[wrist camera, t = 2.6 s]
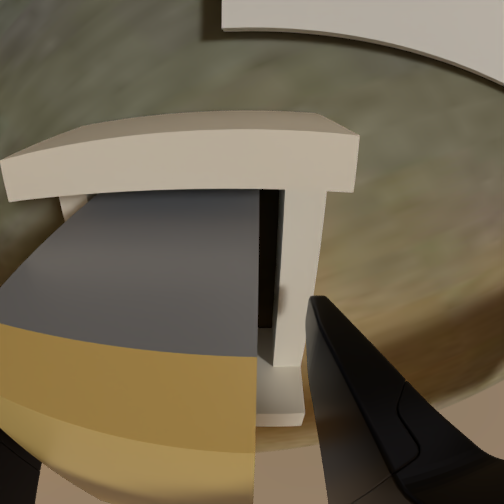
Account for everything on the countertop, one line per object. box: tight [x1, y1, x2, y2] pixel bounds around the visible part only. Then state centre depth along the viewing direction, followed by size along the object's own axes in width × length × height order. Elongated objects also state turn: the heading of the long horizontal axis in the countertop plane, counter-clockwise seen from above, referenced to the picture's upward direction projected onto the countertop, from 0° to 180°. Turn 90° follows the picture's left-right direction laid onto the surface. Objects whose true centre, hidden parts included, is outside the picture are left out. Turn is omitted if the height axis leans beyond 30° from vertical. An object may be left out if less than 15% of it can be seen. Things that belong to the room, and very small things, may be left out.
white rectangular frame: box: [0, 110, 360, 427], centre depth 9 cm, size 7×9×4 cm
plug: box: [0, 189, 259, 504], centre depth 7 cm, size 4×6×8 cm, turn 0°
